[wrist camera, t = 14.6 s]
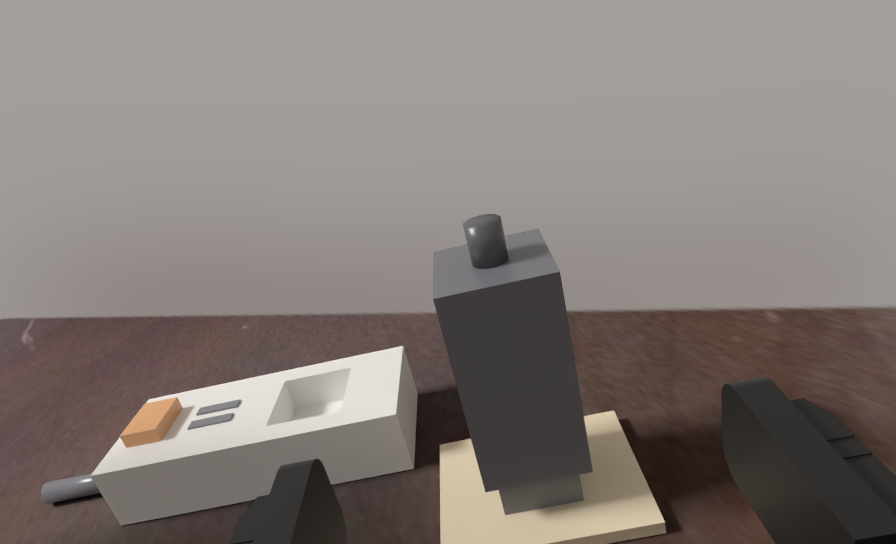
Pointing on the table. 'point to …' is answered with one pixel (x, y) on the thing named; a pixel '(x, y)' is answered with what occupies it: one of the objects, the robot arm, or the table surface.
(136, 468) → the power strip
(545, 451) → the charger
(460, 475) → the cork pad
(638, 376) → the table surface
